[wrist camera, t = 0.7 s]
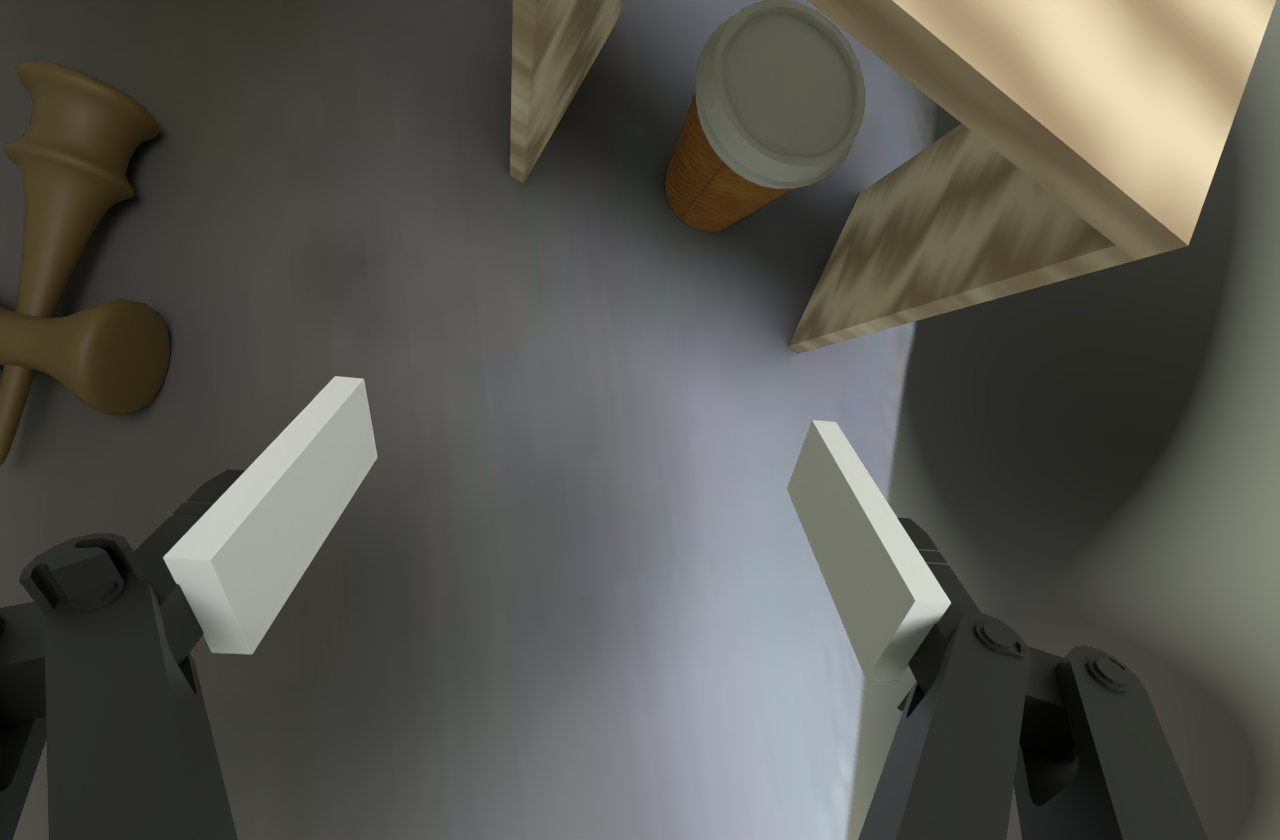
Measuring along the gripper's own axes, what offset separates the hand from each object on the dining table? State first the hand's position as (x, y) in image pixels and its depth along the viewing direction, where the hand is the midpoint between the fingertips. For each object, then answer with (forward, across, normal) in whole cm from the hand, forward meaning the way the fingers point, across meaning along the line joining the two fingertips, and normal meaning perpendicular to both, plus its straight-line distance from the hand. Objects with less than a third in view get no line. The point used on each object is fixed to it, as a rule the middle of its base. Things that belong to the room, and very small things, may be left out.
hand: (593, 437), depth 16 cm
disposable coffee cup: (+28, +7, +3) cm, 29 cm away
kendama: (+17, -28, -4) cm, 33 cm away
